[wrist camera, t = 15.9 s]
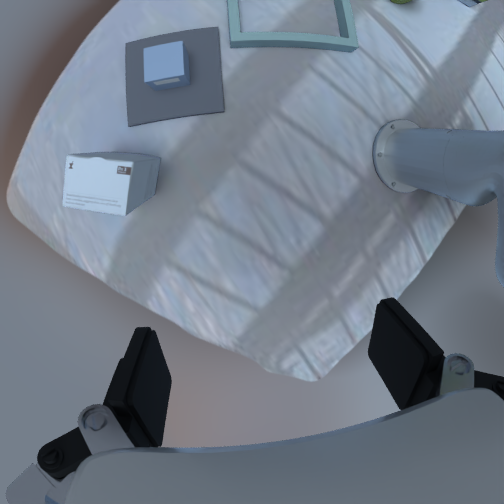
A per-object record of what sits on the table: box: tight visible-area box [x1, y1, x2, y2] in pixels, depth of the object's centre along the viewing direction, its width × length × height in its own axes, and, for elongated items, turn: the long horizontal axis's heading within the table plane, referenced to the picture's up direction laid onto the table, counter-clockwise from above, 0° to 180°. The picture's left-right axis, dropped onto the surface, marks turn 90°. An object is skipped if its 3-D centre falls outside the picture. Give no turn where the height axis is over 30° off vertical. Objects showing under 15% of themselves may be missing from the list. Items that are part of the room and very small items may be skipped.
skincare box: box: [63, 152, 161, 216], centre depth 31 cm, size 8×6×15 cm
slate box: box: [144, 41, 190, 91], centre depth 29 cm, size 5×5×6 cm
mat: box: [125, 27, 224, 127], centre depth 33 cm, size 14×14×1 cm
